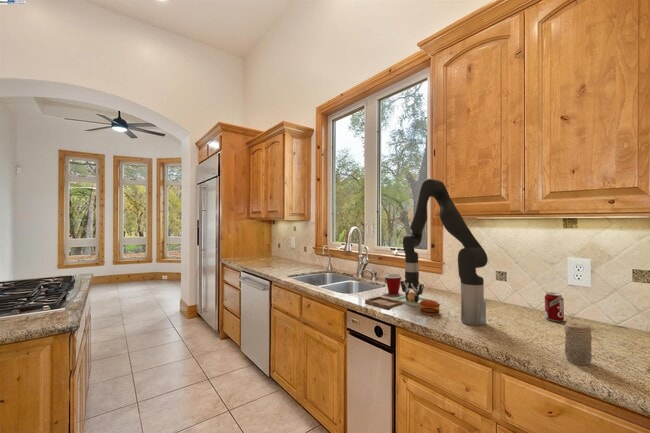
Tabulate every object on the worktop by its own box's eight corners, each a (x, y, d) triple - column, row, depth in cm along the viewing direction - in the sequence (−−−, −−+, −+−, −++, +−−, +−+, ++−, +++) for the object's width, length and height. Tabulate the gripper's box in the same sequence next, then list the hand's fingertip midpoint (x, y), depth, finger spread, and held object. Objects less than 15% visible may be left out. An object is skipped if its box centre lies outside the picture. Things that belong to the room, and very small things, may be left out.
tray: (402, 305, 156) (402, 301, 156) (388, 309, 149) (388, 306, 149) (379, 299, 169) (379, 296, 169) (365, 303, 161) (365, 299, 161)
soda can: (544, 320, 132) (543, 293, 132) (545, 316, 137) (545, 291, 137) (563, 323, 127) (562, 296, 128) (564, 320, 132) (563, 293, 133)
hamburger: (419, 310, 148) (419, 297, 148) (440, 312, 145) (439, 298, 145) (418, 315, 139) (418, 301, 140) (440, 318, 136) (440, 303, 136)
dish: (431, 302, 161) (431, 299, 161) (416, 307, 152) (416, 304, 152) (408, 297, 173) (408, 294, 173) (392, 301, 163) (392, 298, 163)
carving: (561, 361, 93) (560, 323, 93) (570, 355, 97) (569, 319, 97) (586, 369, 88) (585, 329, 88) (595, 363, 92) (594, 324, 92)
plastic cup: (380, 293, 183) (380, 274, 183) (394, 291, 188) (394, 273, 188) (391, 297, 173) (391, 277, 174) (405, 295, 178) (405, 275, 178)
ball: (418, 301, 162) (418, 292, 162) (413, 303, 159) (413, 293, 159) (410, 299, 166) (410, 290, 166) (405, 301, 163) (405, 292, 163)
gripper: (427, 271, 160) (427, 302, 159) (404, 268, 171) (405, 297, 170) (419, 272, 155) (419, 305, 154) (397, 269, 166) (397, 299, 165)
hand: (412, 300), depth 162 cm, fingers closed on ball, 5 cm apart
